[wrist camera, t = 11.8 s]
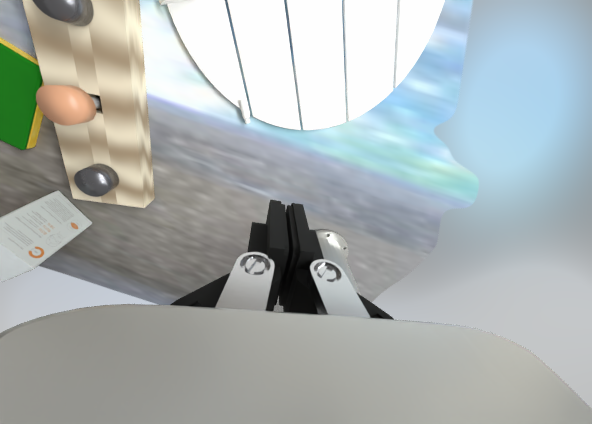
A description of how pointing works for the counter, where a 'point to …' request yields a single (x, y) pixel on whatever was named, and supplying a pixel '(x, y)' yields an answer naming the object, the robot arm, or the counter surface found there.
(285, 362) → the robot arm
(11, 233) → the small box
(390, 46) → the lazy susan
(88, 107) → the middle knob
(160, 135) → the counter surface
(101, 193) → the far knob
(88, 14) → the near knob
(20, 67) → the dish sponge
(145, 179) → the knob mount
